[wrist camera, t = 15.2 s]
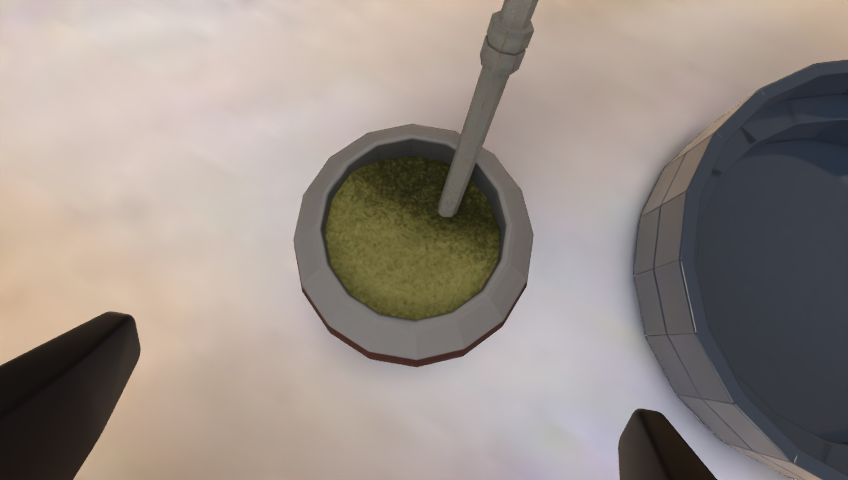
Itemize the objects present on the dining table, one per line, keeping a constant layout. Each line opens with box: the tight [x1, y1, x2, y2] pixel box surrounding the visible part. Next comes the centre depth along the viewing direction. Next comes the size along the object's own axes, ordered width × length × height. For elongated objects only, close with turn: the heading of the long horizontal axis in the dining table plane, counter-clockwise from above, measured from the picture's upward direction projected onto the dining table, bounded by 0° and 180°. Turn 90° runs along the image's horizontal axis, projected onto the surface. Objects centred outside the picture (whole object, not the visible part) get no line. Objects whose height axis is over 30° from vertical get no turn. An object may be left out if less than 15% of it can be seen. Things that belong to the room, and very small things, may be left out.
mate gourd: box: [294, 0, 538, 367], centre depth 15 cm, size 8×8×15 cm
